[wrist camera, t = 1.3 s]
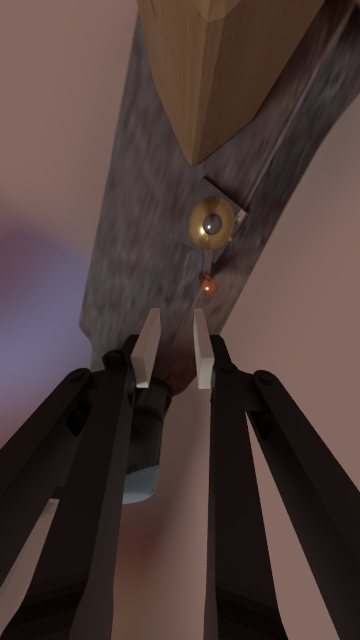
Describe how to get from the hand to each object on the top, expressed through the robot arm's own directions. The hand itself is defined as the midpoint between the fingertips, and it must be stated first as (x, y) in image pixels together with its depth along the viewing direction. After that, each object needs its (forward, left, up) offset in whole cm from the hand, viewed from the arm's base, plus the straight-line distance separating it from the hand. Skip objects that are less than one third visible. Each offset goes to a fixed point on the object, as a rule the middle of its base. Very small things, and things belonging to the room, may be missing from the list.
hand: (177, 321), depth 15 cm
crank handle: (+7, -1, -17) cm, 19 cm away
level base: (+10, 0, -19) cm, 21 cm away
